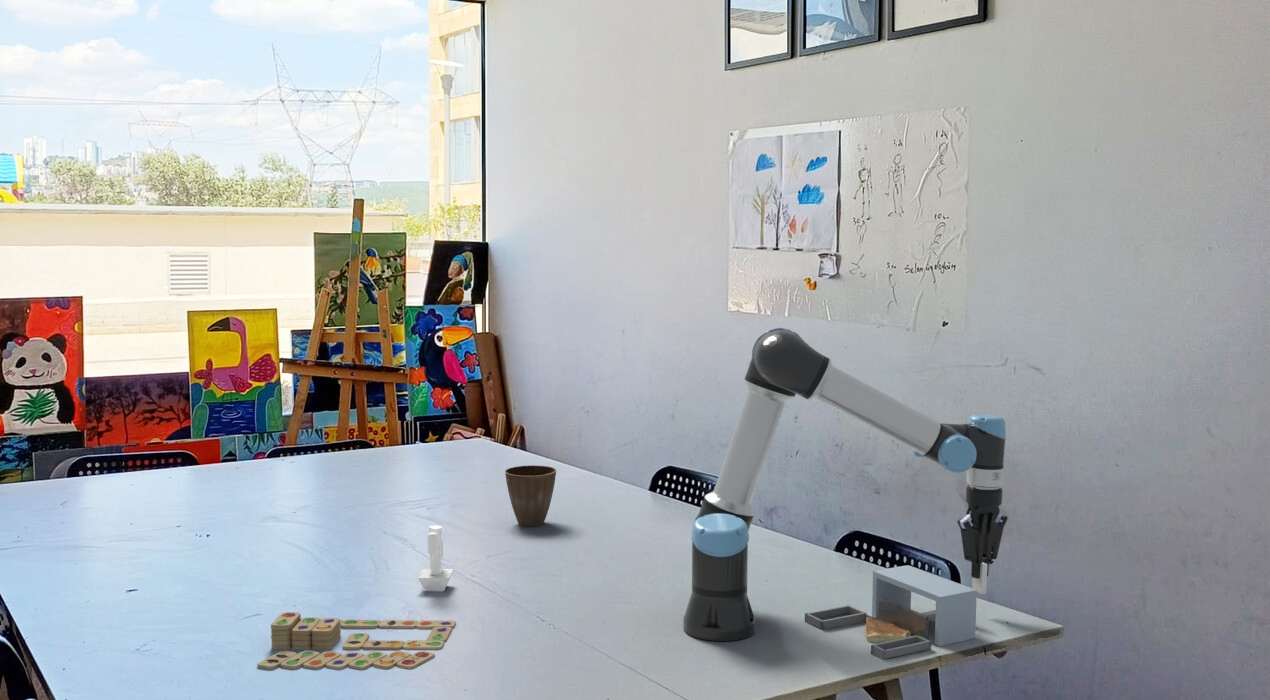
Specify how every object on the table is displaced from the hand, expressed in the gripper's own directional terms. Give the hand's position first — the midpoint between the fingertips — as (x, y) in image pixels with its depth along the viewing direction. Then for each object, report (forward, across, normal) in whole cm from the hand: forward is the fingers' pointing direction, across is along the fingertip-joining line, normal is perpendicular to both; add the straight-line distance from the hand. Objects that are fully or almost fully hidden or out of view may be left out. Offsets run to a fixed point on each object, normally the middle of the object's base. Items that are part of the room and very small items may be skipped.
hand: (978, 591), depth 239 cm
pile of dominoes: (+9, -125, +45) cm, 133 cm away
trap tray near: (+6, -30, -9) cm, 32 cm away
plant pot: (+8, -56, +121) cm, 133 cm away
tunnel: (+6, -16, 0) cm, 17 cm away
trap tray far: (+6, -30, +11) cm, 33 cm away
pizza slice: (+6, -28, +1) cm, 29 cm away
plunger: (+5, -15, 0) cm, 16 cm away
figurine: (+8, -100, +74) cm, 124 cm away
